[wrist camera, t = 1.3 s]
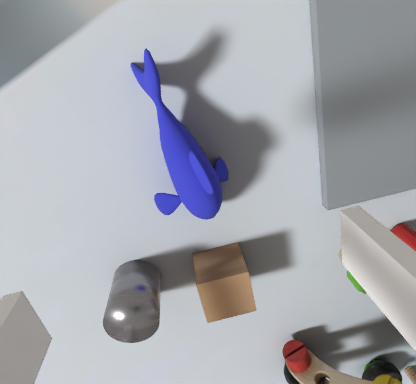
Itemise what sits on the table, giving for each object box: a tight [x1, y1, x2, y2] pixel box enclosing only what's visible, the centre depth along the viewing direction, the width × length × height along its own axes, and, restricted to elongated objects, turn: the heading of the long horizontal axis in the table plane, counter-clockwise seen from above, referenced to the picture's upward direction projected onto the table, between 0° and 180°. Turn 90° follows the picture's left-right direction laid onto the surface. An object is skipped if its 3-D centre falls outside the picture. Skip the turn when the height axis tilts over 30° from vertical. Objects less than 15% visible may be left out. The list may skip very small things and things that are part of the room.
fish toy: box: [131, 49, 228, 219], centre depth 25 cm, size 15×8×7 cm, turn 22°
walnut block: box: [193, 242, 256, 323], centre depth 32 cm, size 5×5×5 cm
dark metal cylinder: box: [103, 260, 161, 343], centre depth 31 cm, size 5×5×6 cm
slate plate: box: [310, 0, 416, 210], centre depth 28 cm, size 16×20×1 cm
